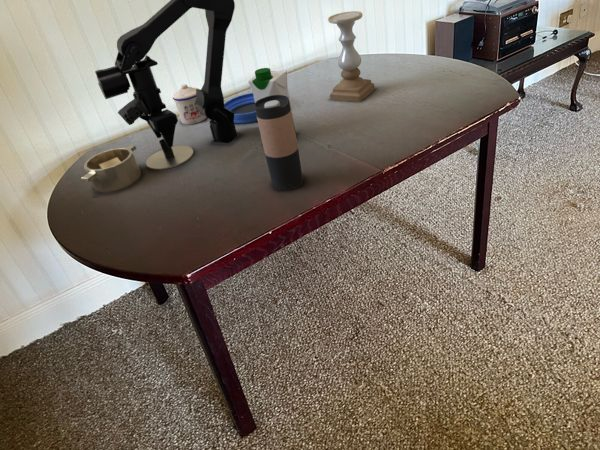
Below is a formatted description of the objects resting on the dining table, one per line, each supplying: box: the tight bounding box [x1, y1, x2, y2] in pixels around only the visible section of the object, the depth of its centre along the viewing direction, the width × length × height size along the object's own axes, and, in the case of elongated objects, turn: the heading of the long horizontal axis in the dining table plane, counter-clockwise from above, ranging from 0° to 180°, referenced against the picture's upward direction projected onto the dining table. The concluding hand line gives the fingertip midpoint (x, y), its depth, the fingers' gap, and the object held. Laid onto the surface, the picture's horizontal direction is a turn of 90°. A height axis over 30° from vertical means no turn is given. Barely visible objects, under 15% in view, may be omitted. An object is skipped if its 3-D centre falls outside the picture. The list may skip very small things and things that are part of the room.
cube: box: [99, 158, 121, 169], centre depth 123 cm, size 5×5×5 cm
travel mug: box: [255, 95, 304, 191], centre depth 104 cm, size 8×8×20 cm
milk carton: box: [248, 67, 297, 135], centre depth 125 cm, size 9×9×20 cm
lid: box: [145, 138, 195, 171], centre depth 129 cm, size 13×13×6 cm
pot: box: [81, 144, 142, 193], centre depth 123 cm, size 12×18×7 cm
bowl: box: [224, 92, 258, 124], centre depth 150 cm, size 18×18×4 cm
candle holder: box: [327, 10, 376, 103], centre depth 143 cm, size 11×11×24 cm
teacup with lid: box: [172, 83, 207, 125], centre depth 151 cm, size 12×9×12 cm
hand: (164, 142), depth 128 cm, fingers open, 9 cm apart
